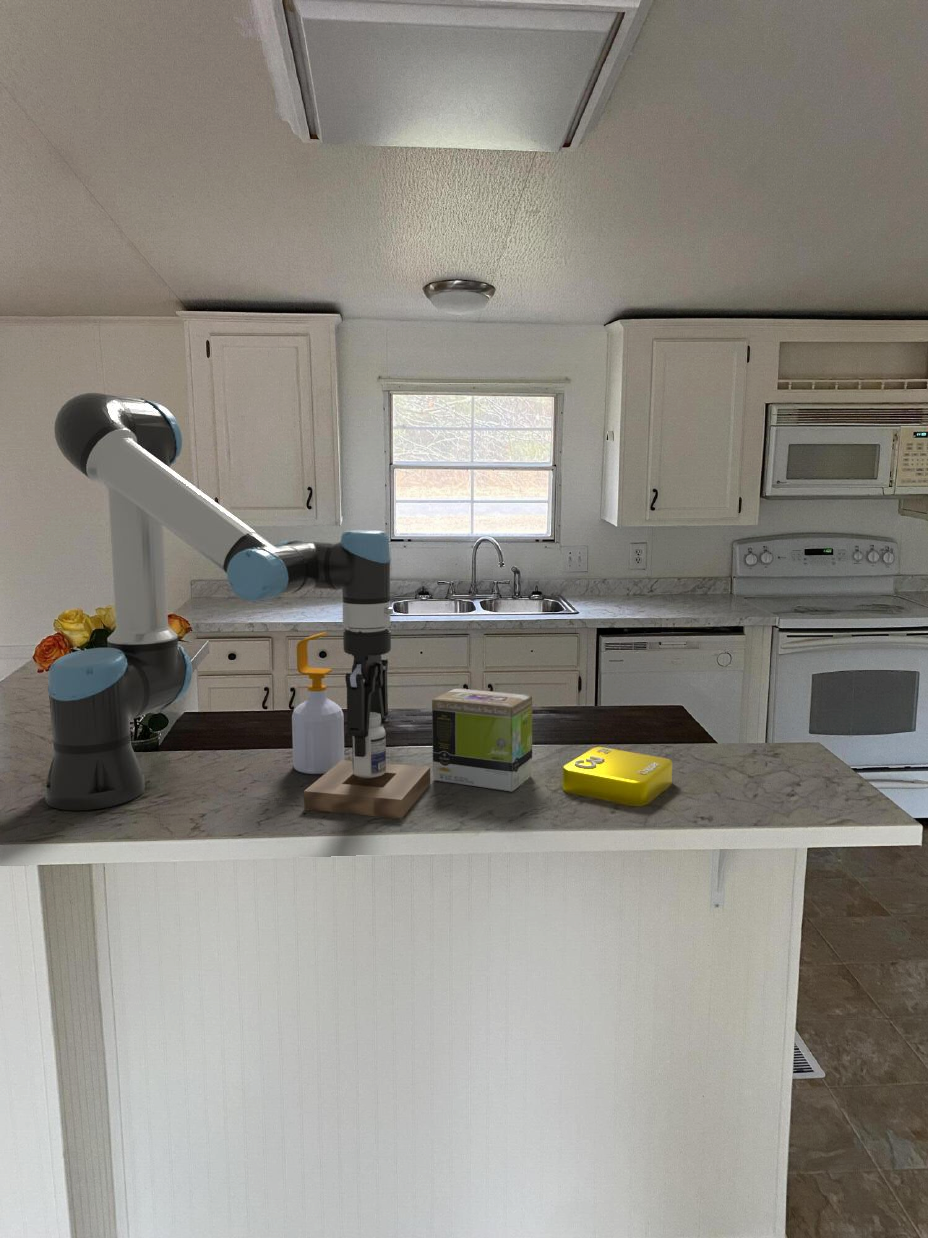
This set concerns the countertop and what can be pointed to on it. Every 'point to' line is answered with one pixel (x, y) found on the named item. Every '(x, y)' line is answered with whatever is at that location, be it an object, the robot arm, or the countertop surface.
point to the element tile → (617, 776)
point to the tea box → (482, 738)
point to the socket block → (368, 790)
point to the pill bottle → (376, 746)
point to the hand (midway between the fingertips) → (369, 768)
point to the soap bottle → (316, 722)
